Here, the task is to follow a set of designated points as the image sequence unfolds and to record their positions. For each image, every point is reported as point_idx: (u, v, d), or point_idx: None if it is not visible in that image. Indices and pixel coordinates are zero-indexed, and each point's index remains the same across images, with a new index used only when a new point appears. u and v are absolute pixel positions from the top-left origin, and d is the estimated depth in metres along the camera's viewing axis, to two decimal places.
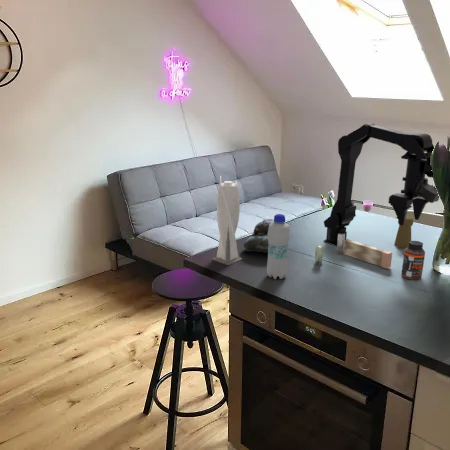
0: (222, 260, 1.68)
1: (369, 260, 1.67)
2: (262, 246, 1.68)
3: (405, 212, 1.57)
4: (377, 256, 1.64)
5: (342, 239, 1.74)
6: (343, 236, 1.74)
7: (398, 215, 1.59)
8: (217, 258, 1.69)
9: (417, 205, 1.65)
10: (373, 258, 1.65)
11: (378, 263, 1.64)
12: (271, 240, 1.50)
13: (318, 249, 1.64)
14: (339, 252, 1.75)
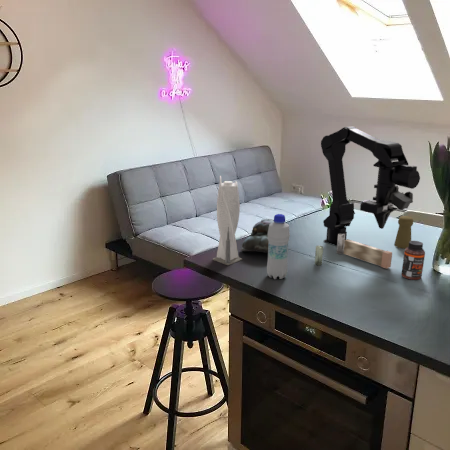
0: (222, 260, 1.68)
1: (369, 260, 1.67)
2: (261, 246, 1.68)
3: (384, 216, 1.65)
4: (377, 256, 1.64)
5: (342, 239, 1.74)
6: (343, 236, 1.74)
7: (377, 219, 1.67)
8: (217, 258, 1.69)
9: None
10: (373, 258, 1.65)
11: (378, 263, 1.64)
12: (271, 240, 1.50)
13: (318, 249, 1.64)
14: (339, 252, 1.75)
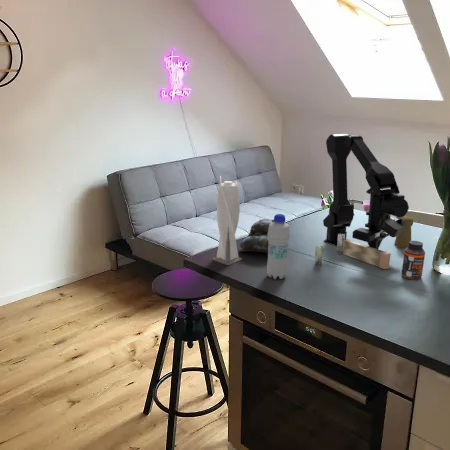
0: (222, 260, 1.68)
1: (368, 260, 1.66)
2: (259, 246, 1.68)
3: (376, 243, 1.65)
4: (375, 257, 1.64)
5: (342, 239, 1.74)
6: (343, 236, 1.74)
7: (370, 245, 1.67)
8: (217, 258, 1.69)
9: None
10: (372, 258, 1.65)
11: (376, 264, 1.64)
12: (271, 240, 1.50)
13: (318, 249, 1.64)
14: (339, 252, 1.75)
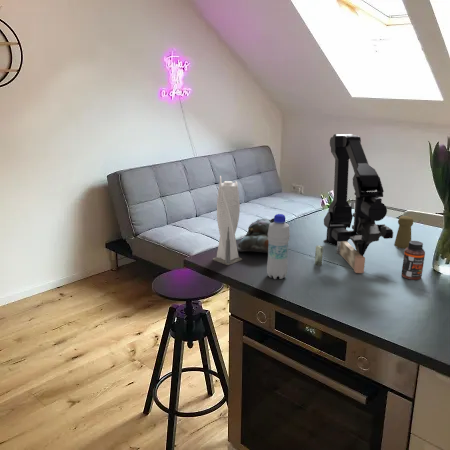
0: (222, 260, 1.68)
1: (350, 263, 1.64)
2: (257, 246, 1.68)
3: (359, 246, 1.62)
4: (353, 259, 1.61)
5: None
6: None
7: (356, 248, 1.64)
8: (217, 258, 1.69)
9: (361, 244, 1.64)
10: (352, 261, 1.63)
11: (354, 267, 1.61)
12: (271, 240, 1.50)
13: (318, 249, 1.64)
14: (339, 252, 1.75)
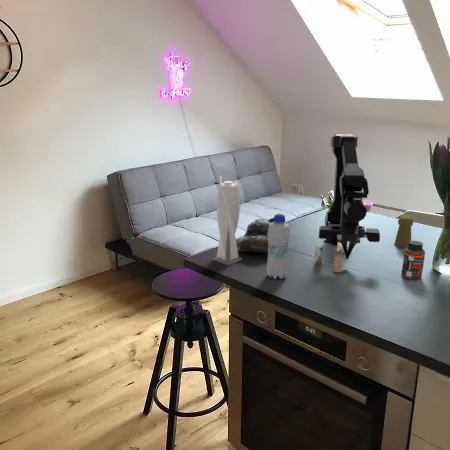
0: (222, 260, 1.68)
1: None
2: (256, 246, 1.68)
3: (344, 246, 1.62)
4: None
5: None
6: None
7: None
8: (217, 258, 1.69)
9: (349, 244, 1.63)
10: None
11: None
12: (271, 240, 1.50)
13: (318, 249, 1.64)
14: None
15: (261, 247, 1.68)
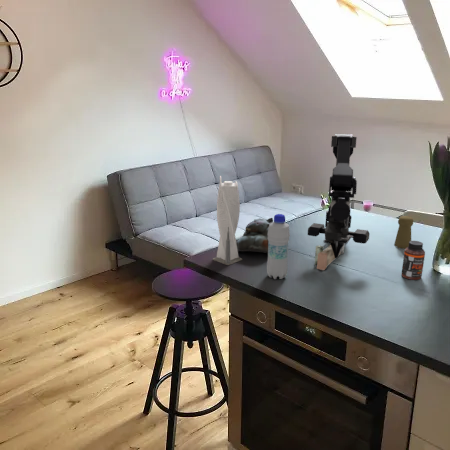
0: (222, 260, 1.68)
1: None
2: (255, 246, 1.68)
3: (332, 245, 1.63)
4: None
5: None
6: None
7: None
8: (217, 258, 1.69)
9: None
10: None
11: None
12: (271, 240, 1.50)
13: (318, 249, 1.64)
14: None
15: (260, 247, 1.68)
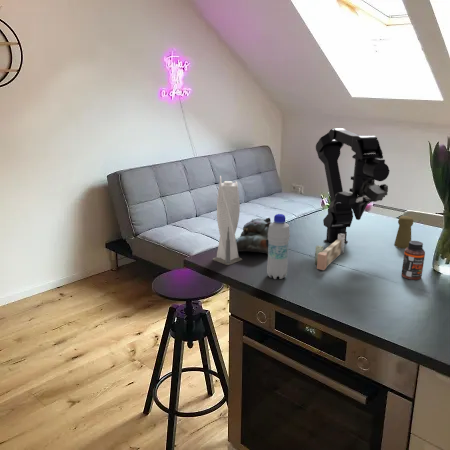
0: (222, 260, 1.68)
1: None
2: (253, 246, 1.68)
3: (359, 207, 1.68)
4: None
5: (342, 239, 1.74)
6: (343, 236, 1.74)
7: (354, 210, 1.70)
8: (217, 258, 1.69)
9: None
10: None
11: None
12: (271, 240, 1.50)
13: (318, 249, 1.64)
14: None
15: (258, 247, 1.68)
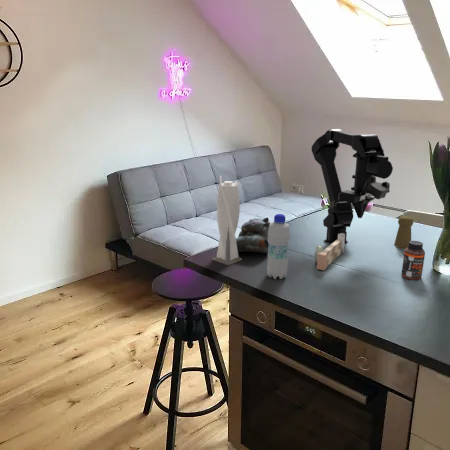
0: (222, 260, 1.68)
1: None
2: (252, 246, 1.68)
3: (362, 206, 1.69)
4: None
5: (342, 239, 1.74)
6: (343, 236, 1.74)
7: (356, 209, 1.71)
8: (217, 258, 1.69)
9: None
10: None
11: None
12: (271, 240, 1.50)
13: (318, 249, 1.64)
14: None
15: (257, 247, 1.68)
